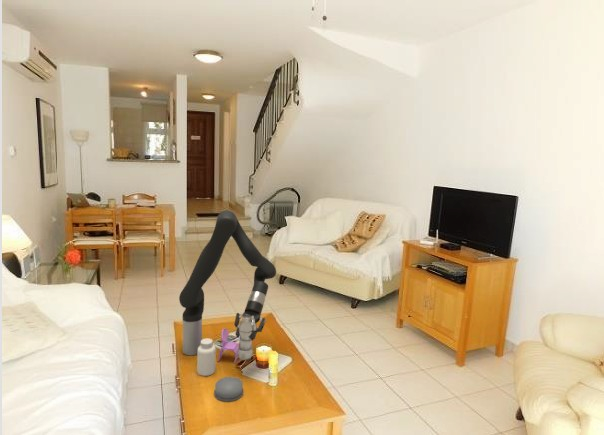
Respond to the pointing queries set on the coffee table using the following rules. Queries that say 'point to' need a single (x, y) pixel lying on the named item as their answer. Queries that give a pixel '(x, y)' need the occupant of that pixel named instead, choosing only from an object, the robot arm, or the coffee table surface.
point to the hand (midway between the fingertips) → (244, 338)
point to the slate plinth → (228, 389)
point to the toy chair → (228, 345)
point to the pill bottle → (206, 357)
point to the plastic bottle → (245, 338)
